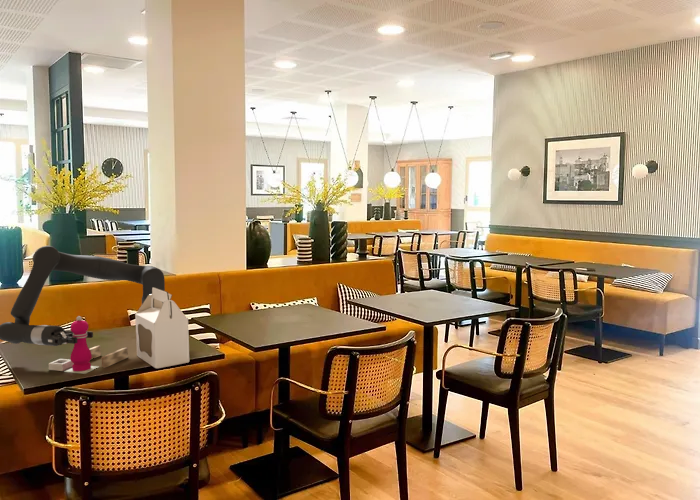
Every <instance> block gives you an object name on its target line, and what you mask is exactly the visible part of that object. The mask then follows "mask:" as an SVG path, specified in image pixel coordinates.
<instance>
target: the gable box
mask: <svg viewBox="0 0 700 500" xmlns="http://www.w3.org/2000/svg"><path fill="white" fill-rule="evenodd" d="M172 296H173V294H171V293H169V291H163V290H161V289H158V288H155V287H153V288H152V294H150V295H148V296H147V298H146V299H145V301H144V302H143V304H142V303H141V305H140V306H139V308H138V309H137V311H136V313H135V314H134V316H135V318H134V319H135V320H134V321H135V336H136V337H135V339H136V340H135V341H136V343H135V344H136V356H137V357H138V358H140V359H141V360H142V361H144V362H145V363H147V364H149V365H150V366H152V367H153V368H154V369H162V368H166V367H167V368H168V367H171V366H177V365H182V364H186V363H187V364H188V363H189V362H190V342H189V340H190V338H189V318H188V317H187V316H186V315H185V314H184V313H183V311H182V310H181V309H180V307H179V306H178V305H177V303H176V302H175V301H174V300H172ZM162 302H164V303H162Z"/></svg>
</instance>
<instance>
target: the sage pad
mask: <svg viewBox="0 0 700 500" xmlns="http://www.w3.org/2000/svg"><path fill="white" fill-rule="evenodd" d="M96 368H97V369H99V368H100V366H99V365H91V368H90V369H88V370H85V371H73V369H72V367H71V368H69V369H66V370H64V371H63V372H64V373H69V374H70V373H72V374H84V375H86V374H88V373H90V372H92V371H95V370H97V369H96ZM94 369H95V370H94Z"/></svg>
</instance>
